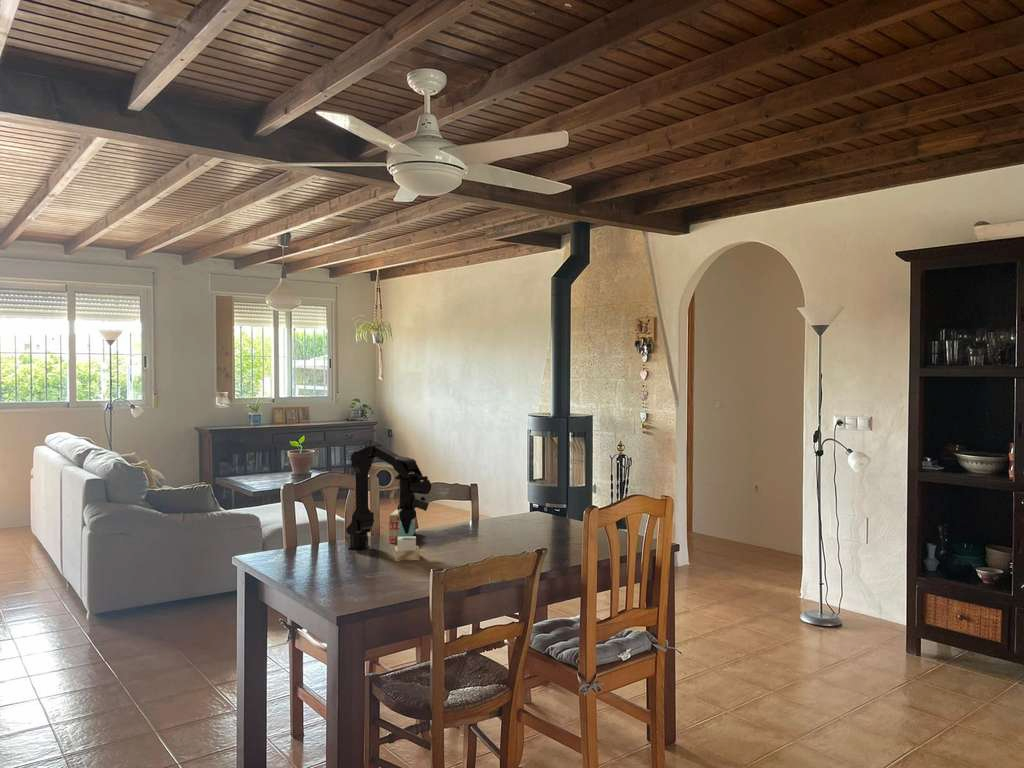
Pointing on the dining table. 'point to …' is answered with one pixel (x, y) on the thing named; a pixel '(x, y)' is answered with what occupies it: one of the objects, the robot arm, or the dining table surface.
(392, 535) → the beige printed box
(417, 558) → the oak base slab
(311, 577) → the dining table surface
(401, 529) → the seafoam tapered dome
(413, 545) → the white upper slab
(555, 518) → the dining table surface
